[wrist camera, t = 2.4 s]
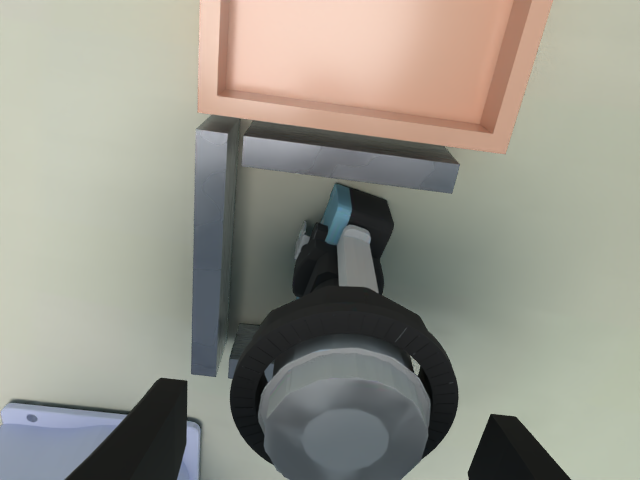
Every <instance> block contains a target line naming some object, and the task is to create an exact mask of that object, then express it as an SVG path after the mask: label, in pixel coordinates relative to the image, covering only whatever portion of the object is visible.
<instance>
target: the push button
mask: <svg viewBox="0 0 640 480" xmlns="http://www.w3.org/2000/svg"><path fill="white" fill-rule="evenodd" d="M393 227H394V222H393V219H392V216H391V213H390V210H389V207H388V204H387V201H386V200H383V199H380V198H377V197H374V196H371V195H369V194H366V193H363V192H360V191H357V190H354V189H351V188H348V187H345V186H342V185H339V184H335V185H334V187H333V190H332V192H331V195H330V200H329V202H328V205H327V207H326V210H325V213H324V215H323V218H322V220H321V223H316V224H315V226H314V229H313V231H312V234H311V237H310V236H307V235H306V234H305V232H306V221H304V223H303V225H302V228H301V231H300V233H299V236H298V239H297V242H296V247H295V257H294V260H296V263H295V268H294V277H293V293H294V294H295V296H296V300H294V301H292V302H290V303H288V304H286V305H283V306H281V307H279V308H277V309H275V310H273V311H271V312H270V313H269V314H268V315H267V317H266V318H265V320H264V321H263V323H262V324H261V326H260V327H259V329H258V330H257V331H256V333H255V334H254V336H253V338H252V340H251V342H250V343H249V344H248V345H247V347H246V348H245V350H244V351H243V353H242V354H241V356H240V359H239V361H238V363H237V366H236V369H235V372H234V376H233V380H232V384H231V390H230V406H231V412H232V416H233V419H234V422H235V424H236V427H237V429H238V430H239V432H240V434H241V436H242V437H243V438H244V440H245V441H246V443H247V444H248V445H249V446H250V447H251V448H252V449H253V450H254V451H255V452H256V453H257V454H258V455H260V456H261V457H262V458H264V459H265V460H266V461H268V462H269V463H271V464H273V465H274V466H275V468H276V470H277V471H279V472H280V473H282V475H283V476H284V477H285V478H288V479H290V480H401V479H402V478H403V477H404V476H405V475H406V474H407V473H408V472H410V471H411V470H412V469H413V468H414V467H415V466H416V465H417V464H418V463H419V462H420V461H421V459H423V458H424V457H425V456H427V455H428V454H429V453H430V452H431V451H433V450H434V449H435V448H436V447H437V446H438V444H439V443H440V442H441V441H442V440H443V438H444V437H445V436H446V434H447V433H448V431H449V429H450V427H451V425H452V423H453V421H454V418H455V415H456V411H457V407H458V386H457V380H456V377H455V374H454V371H453V368H452V365H451V363H450V360H449V358H448V356H447V354H446V352H445V350H444V349H443V347H442V346H441V345H440V343H439V342H438V341H437V340H436V339H435V337H434V336H433V335H432V334H431V333H430V332H428V330H427V328H426V327H425V325H424V323H423V321H422V319H421V318H420V316H418V315H417V314H415V313H413V312H412V311H410V310H408V309H406V308H404V307H402V306H401V305H399V304H397V303H395V302H393V301H391V300H390V299H388V298H386V297H384V296H382V293H383V287H384V279H383V273H382V268H381V264H380V257H381V255H382V253H383V251H384V249H385V247H386V245H387V242H388V240H389V238H390V236H391V234H392V231H393ZM410 355H411V356H412V357H413V358H414V359H415V360H416V361H417V362H418V363H419V365H420V371H419V374H418V376H417V375H416V374H415V373H414V370H413V366H412V362H411V358H410ZM274 359H275V362H274V369H273V376H272V379H271V380H270V381H269V383H268V381H267V379H266V376H265V373H264V371H265V370H266V368H267V367H268V366H269V364H270V363H271V362H272V361H273V360H274Z"/></svg>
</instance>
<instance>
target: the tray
mask: <svg viewBox="0 0 640 480" xmlns="http://www.w3.org/2000/svg"><path fill="white" fill-rule="evenodd" d="M552 2H553V0H200V18H199V67H198V113H205V114H213V115H220V116H227V117H235V118H242V119H250V120H257V121H264V122H272V123H279V124H286V125H294V126H301V127H309V128H316V129H323V130H331V131H338V132H345V133H353V134H360V135H368V136H375V137H382V138H390V139H397V140H404V141H412V142H419V143H427V144H434V145H441V146H449V147H456V148H463V149H471V150H478V151H486V152H493V153H500V154H506V151H507V148H508V144H509V141H510V138H511V135H512V131H513V128H514V125H515V122H516V118H517V115H518V112H519V109H520V106H521V102H522V99H523V96H524V93H525V89H526V86H527V83H528V80H529V77H530V73H531V70H532V67H533V64H534V60H535V57H536V54H537V51H538V47H539V44H540V41H541V38H542V35H543V31H544V28H545V25H546V22H547V18H548V15H549V12H550V9H551V6H552Z"/></svg>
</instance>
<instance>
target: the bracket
mask: <svg viewBox="0 0 640 480" xmlns="http://www.w3.org/2000/svg"><path fill="white" fill-rule="evenodd" d="M239 126H240V118H235V117H227V116H220V115H213V114H212V115H211V116H210V117H209V118H208V119H207V120H206V121H204V122H203V123H202V124H201V125H200V126H199V127H198V128H197V129H196V150H195V202H194V254H193V306H192V358H191V374H193V375H203V376H212V377H216V375H217V372H218V368H219V365H220V362H221V358H222V355H223V351H224V348H225V345H226V341H227V330H228V313H229V296H230V279H231V262H232V245H233V228H234V211H235V194H236V177H237V160H238V143H239ZM242 166H244V167H252V168H260V169H267V170H275V171H283V172H290V173H298V174H306V175H313V176H321V177H329V178H336V179H344V180H352V181H359V182H367V183H375V184H382V185H390V186H397V187H405V188H413V189H420V190H428V191H436V192H443V193H451V194H452V192H453V189H454V185H455V181H456V177H457V174H458V170H459V166H460V164H459V163H458V162H457V161H456V160H455V159H454V157H453V156H452V155H451V154H450V153H449V152H448V151H447V149H446V148H445V147H444V146H441V145H434V144H427V143H419V142H412V141H404V140H397V139H390V138H382V137H375V136H368V135H360V134H353V133H345V132H338V131H331V130H323V129H316V128H309V127H301V126H294V125H286V124H279V123H272V122H264V121H257V120H254V121H253V122H252V124H251V125H250V127H249V128H248V130H247V131H246V133H245V134H244V136H243V152H242ZM259 327H260V326H259V325H250V324H241V323H239V326H238V330H237V333H236V337H235V341H234V344H233V348H232V351H231V355H230V359H229V374H228V378H230V379H233V376H234V372H235V369H236V366H237V363H238V361H239V359H240V356H241V354H242V353H243V351H244V350H245V348H246V347H247V345H248V344H249V343H250V342H251V340H252V338H253V336H254V334H255V333H256V331H257V330H258V329H259ZM274 362H275V359H274V360H273V361H272V362H271V363H270V364H269V366H268V367H267V368H266V370H265V371H264V373H265V376H266V379H267V381H268V383H269V381H270V380H271V379H272V376H273V369H274Z"/></svg>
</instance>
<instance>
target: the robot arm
mask: <svg viewBox="0 0 640 480" xmlns="http://www.w3.org/2000/svg"><path fill="white" fill-rule="evenodd" d="M1 417H2V422H3V424H2V425H1V427H0V480H199V462H200V431H201V430H200V426H199V425H198V424H196V423H195V422H191V421H187V381H185V380H176V379H167V378H160V379H159V380H157V381H156V382H155V383H154V384H153V386H152V387H151V388H150V389H149V391H148V392H147V393H146V394H145V395H144V397H143V398H142V399H141V400H140V401H139V402H138V404H137V405H136V406H135V407H134V408H133V409H132V411H131V412H130V413H129V414H128V415H125V414H116V413H106V412H96V411H87V410H77V409H67V408H58V407H48V406H39V405H29V404H19V403H9V404H7V405H6V406H5V407H4V408H3V409H2V411H1ZM468 477H469V480H571V479H570V478H569V477H568V475H567V474H566V473H565V472H564V471H563V470H562V469H561V468H560V466H559V465H558V464H557V463H556V462H555V461H554V459H553V458H552V457H551V456H550V455H549V454H548V453H547V451H546V450H545V449H544V448H543V447H542V446H541V445H540V443H539V442H538V441H537V440H536V439H535V438H534V436H533V435H532V434H531V433H530V432H529V431H528V430H527V429H526V427H525V426H524V425H523V424H522V423H521V422H520V421H519V420H518V419H517V417H514V416H505V415H496V414H491V415H490V417H489V420H488V422H487V425H486V427H485V430H484V432H483V435H482V438H481V440H480V443H479V445H478V448H477V450H476V453H475V455H474V458H473V460H472V463H471V466H470V468H469V471H468Z"/></svg>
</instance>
